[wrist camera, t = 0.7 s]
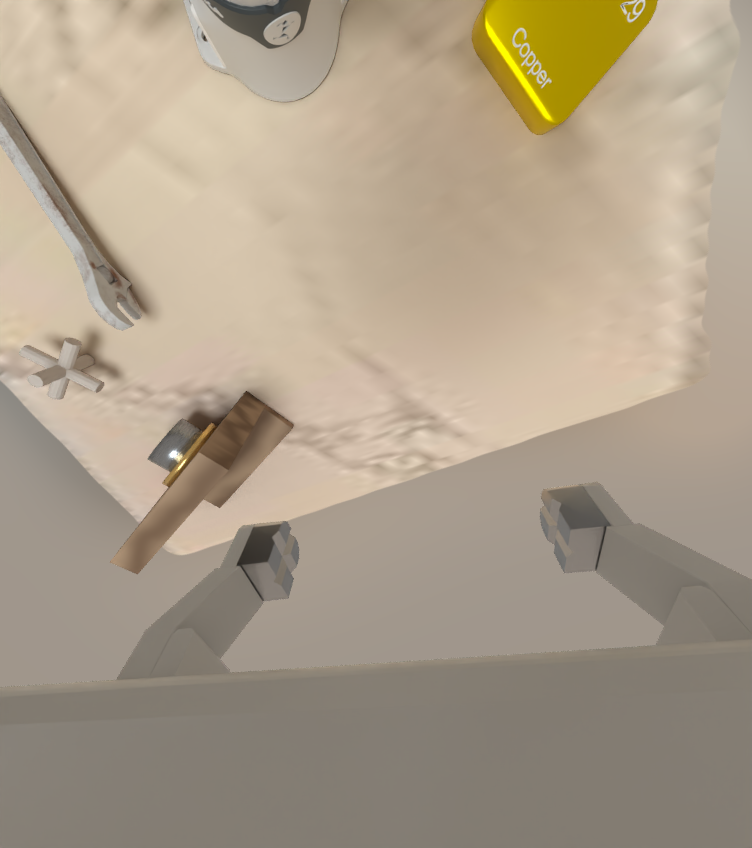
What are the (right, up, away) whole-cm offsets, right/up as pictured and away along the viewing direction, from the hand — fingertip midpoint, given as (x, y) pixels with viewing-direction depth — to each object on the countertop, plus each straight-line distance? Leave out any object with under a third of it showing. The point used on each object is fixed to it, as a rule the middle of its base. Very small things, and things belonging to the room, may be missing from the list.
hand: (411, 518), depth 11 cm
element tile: (+20, +50, +29) cm, 61 cm away
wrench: (-41, +31, +34) cm, 62 cm away
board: (-28, -2, +52) cm, 59 cm away
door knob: (-34, +2, +49) cm, 59 cm away
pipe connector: (-47, +13, +43) cm, 65 cm away
